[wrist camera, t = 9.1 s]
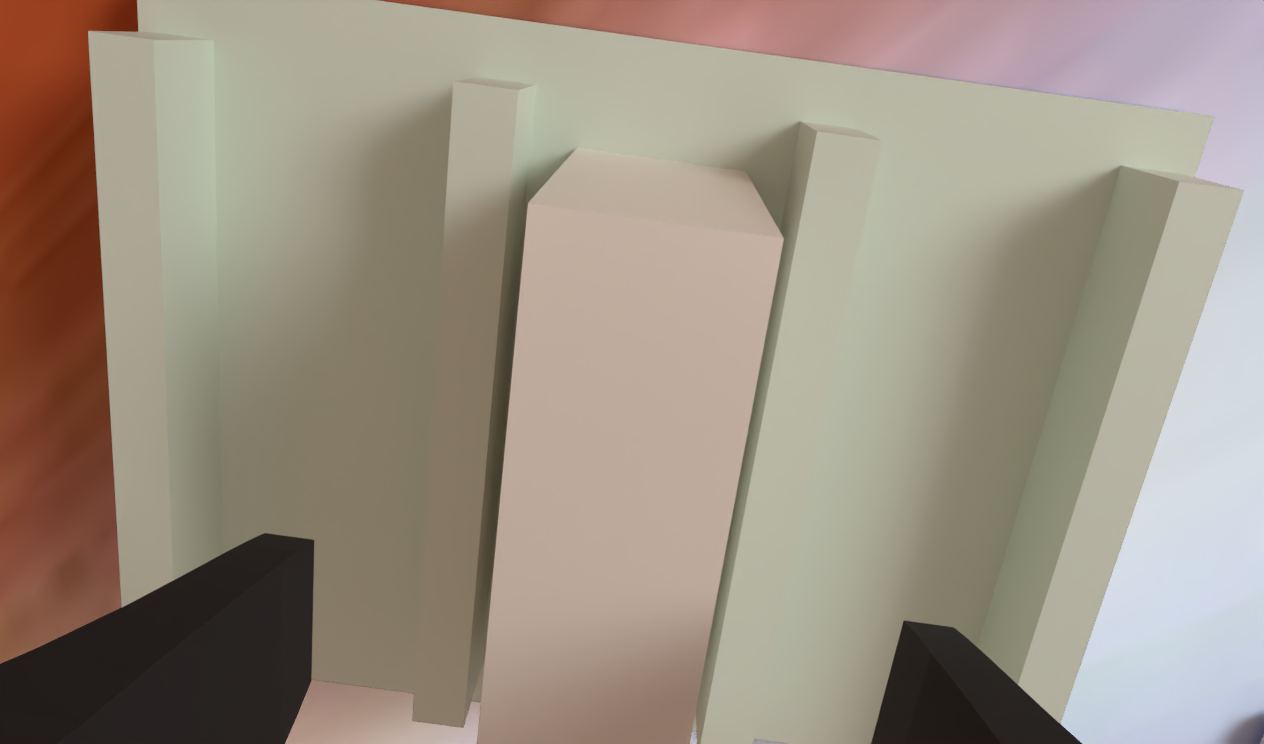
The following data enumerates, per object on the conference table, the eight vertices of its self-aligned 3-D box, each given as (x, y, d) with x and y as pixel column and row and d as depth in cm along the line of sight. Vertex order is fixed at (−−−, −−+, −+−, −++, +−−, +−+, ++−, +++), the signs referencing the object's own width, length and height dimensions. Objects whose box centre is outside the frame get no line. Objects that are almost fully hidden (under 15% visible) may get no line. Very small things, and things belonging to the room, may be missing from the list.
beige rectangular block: (665, 647, 20) (663, 887, 14) (524, 628, 20) (465, 860, 14) (745, 171, 17) (783, 238, 11) (576, 147, 17) (528, 203, 11)
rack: (986, 740, 22) (1034, 845, 19) (186, 632, 22) (113, 722, 19) (1184, 112, 17) (1287, 125, 14) (165, -30, 17) (63, -43, 14)
